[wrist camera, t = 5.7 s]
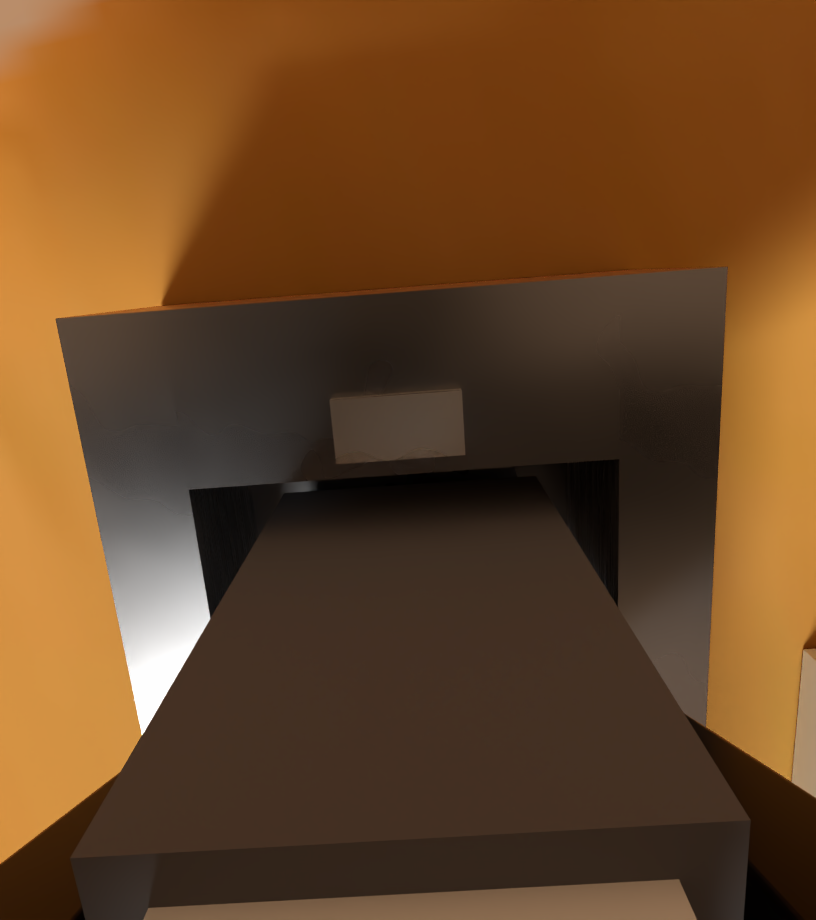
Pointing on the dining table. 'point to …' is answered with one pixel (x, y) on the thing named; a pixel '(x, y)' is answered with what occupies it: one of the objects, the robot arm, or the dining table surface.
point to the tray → (806, 727)
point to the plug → (417, 735)
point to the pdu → (408, 435)
